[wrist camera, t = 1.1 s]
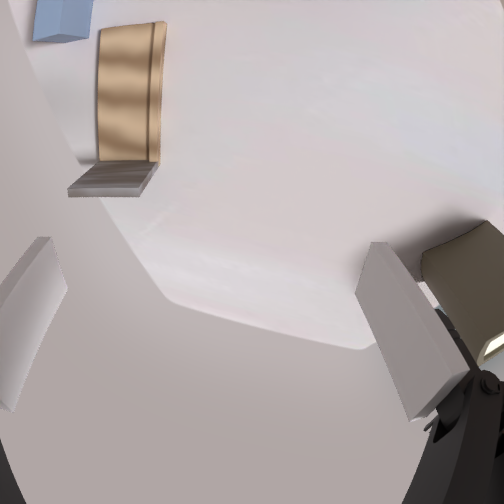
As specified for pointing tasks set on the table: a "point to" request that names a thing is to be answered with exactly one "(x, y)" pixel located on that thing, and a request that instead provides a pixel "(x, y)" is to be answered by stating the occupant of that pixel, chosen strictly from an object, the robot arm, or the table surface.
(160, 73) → the shelf
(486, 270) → the book
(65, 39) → the slim book
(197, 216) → the table surface
